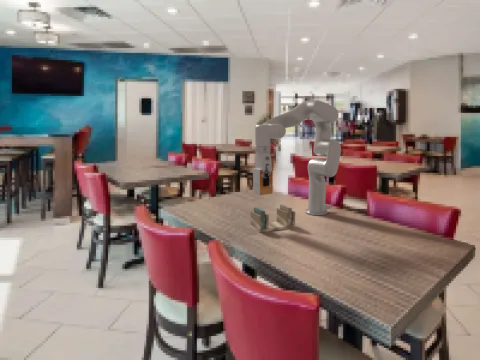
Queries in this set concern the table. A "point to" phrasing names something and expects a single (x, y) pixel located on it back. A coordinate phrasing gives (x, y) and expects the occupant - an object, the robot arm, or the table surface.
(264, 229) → the book rack
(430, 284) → the table surface
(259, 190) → the small box
